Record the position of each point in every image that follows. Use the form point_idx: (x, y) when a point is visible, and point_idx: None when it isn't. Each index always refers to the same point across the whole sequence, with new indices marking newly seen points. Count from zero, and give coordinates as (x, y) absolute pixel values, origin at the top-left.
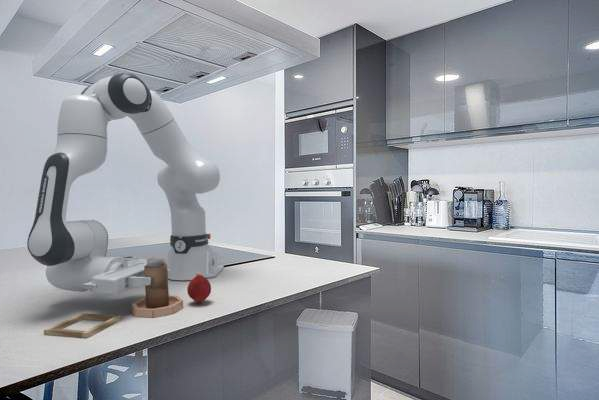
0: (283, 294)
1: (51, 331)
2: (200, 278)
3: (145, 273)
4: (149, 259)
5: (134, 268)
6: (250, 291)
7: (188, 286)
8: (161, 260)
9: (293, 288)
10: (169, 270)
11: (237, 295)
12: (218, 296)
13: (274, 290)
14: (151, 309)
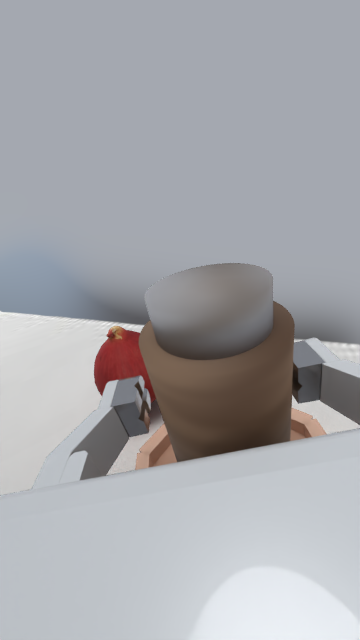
0: (89, 326)
1: None
2: (133, 331)
3: (291, 371)
4: (225, 297)
5: (254, 623)
6: (56, 366)
7: (147, 373)
8: (212, 267)
9: (56, 330)
10: (113, 382)
11: (82, 370)
12: (83, 398)
13: (61, 342)
14: (315, 425)
